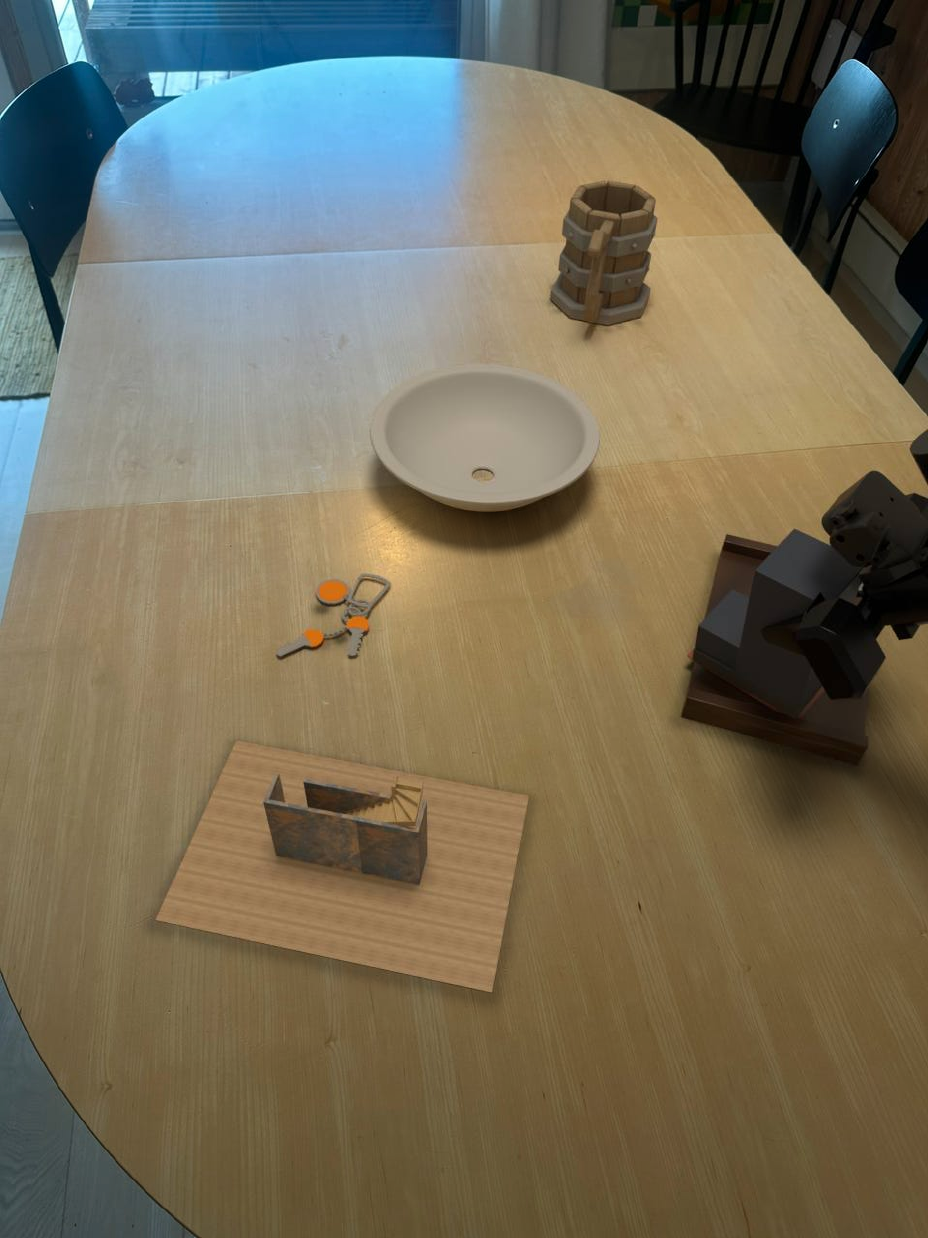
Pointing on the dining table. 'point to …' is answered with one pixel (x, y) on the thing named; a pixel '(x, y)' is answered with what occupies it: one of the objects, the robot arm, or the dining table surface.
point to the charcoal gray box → (775, 596)
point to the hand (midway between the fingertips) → (782, 610)
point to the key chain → (335, 594)
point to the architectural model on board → (353, 864)
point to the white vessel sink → (484, 435)
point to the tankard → (606, 253)
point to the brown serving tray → (731, 707)
